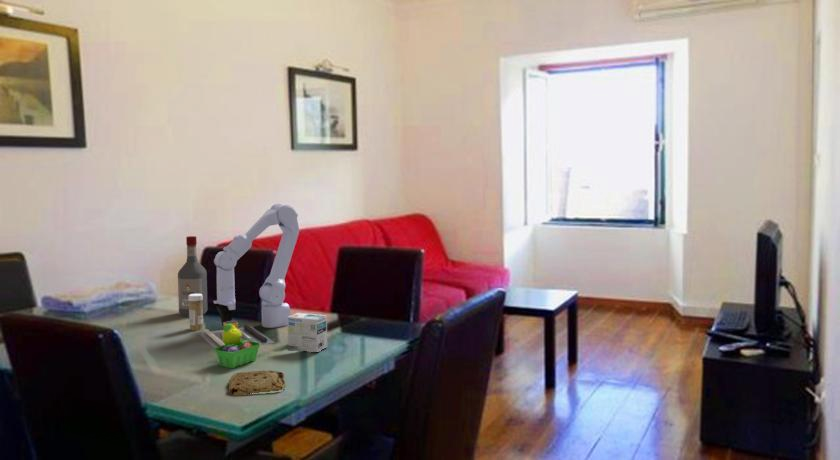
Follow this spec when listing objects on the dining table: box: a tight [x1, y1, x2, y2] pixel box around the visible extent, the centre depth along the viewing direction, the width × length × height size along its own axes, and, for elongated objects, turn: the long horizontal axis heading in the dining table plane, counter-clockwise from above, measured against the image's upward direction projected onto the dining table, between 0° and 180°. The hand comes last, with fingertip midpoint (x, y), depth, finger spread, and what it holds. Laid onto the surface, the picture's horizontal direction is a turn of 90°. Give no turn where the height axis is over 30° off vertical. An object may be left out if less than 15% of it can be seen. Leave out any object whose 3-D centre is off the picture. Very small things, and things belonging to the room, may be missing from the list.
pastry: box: [228, 370, 286, 397], centre depth 163 cm, size 17×17×3 cm
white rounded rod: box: [204, 329, 225, 346], centre depth 199 cm, size 1×21×1 cm, turn 33°
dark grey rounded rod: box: [243, 324, 268, 342], centre depth 206 cm, size 1×21×1 cm, turn 33°
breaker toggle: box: [223, 320, 239, 329], centre depth 206 cm, size 4×3×4 cm
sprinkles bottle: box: [188, 294, 204, 332], centre depth 212 cm, size 5×5×13 cm
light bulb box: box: [287, 312, 328, 353], centre depth 195 cm, size 11×7×11 cm, turn 71°
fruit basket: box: [213, 324, 261, 369], centre depth 181 cm, size 11×9×11 cm
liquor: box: [177, 235, 208, 317], centre depth 240 cm, size 9×9×30 cm
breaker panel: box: [197, 325, 276, 350], centre depth 202 cm, size 18×24×2 cm
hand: (226, 326), depth 210 cm, fingers closed
